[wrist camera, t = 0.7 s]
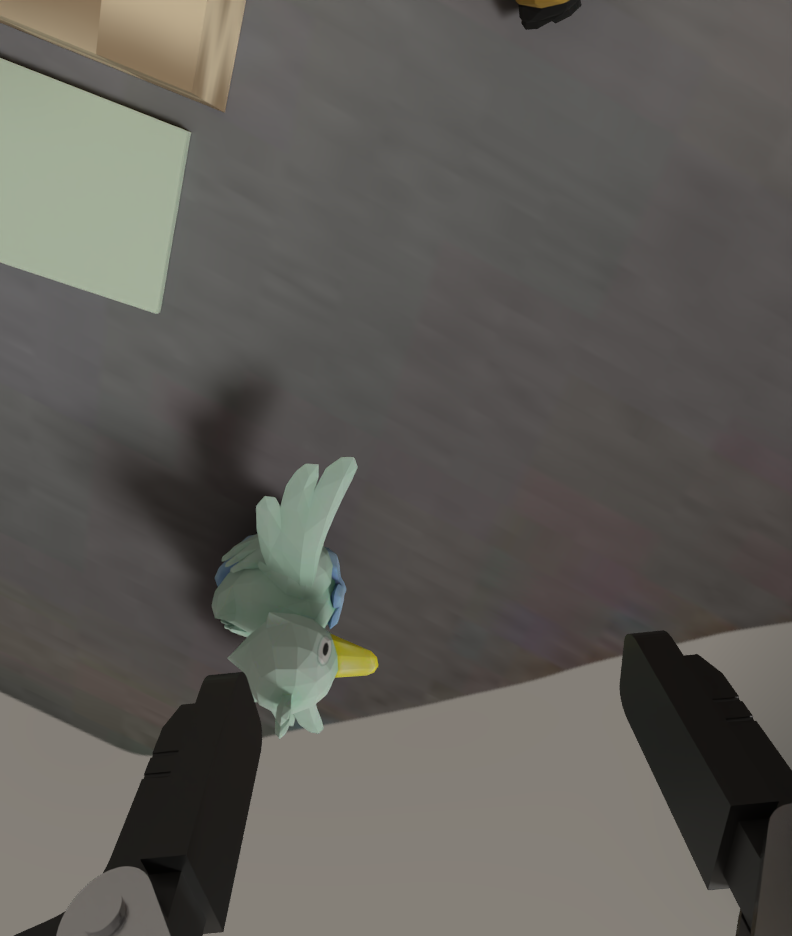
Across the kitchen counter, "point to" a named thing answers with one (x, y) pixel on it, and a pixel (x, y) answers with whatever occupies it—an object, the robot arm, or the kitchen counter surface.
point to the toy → (291, 599)
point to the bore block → (144, 38)
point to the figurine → (545, 11)
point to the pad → (87, 188)
